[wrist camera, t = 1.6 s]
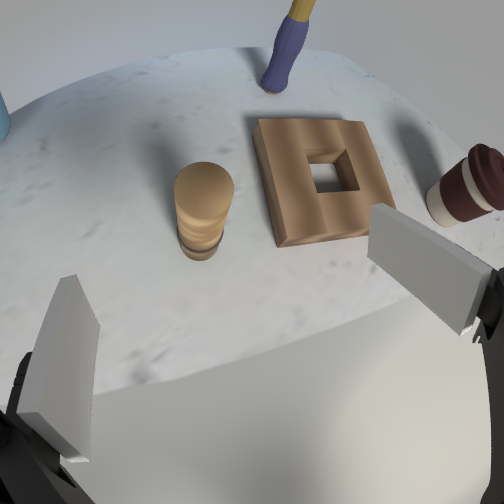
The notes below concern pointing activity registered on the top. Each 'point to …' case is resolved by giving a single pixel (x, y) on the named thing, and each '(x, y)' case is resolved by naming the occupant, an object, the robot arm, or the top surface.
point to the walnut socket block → (302, 184)
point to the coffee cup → (469, 188)
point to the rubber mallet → (287, 46)
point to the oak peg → (202, 208)
